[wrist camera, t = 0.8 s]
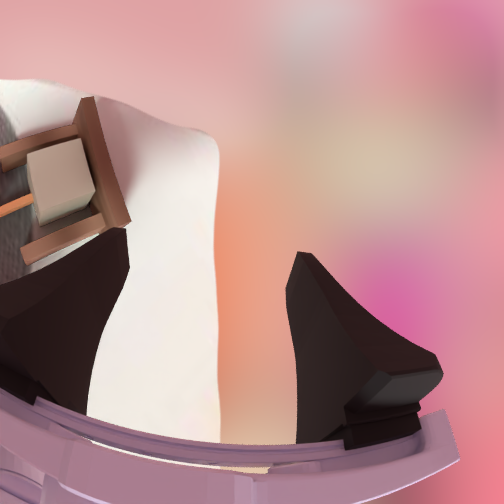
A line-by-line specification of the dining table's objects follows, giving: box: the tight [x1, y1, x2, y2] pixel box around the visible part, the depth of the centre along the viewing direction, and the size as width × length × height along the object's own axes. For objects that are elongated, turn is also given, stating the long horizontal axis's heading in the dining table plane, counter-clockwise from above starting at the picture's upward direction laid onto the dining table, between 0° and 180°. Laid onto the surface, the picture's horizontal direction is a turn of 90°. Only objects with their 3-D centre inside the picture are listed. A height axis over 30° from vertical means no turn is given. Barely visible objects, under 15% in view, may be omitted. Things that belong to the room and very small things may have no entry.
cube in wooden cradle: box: [0, 96, 131, 266], centre depth 17 cm, size 9×12×6 cm
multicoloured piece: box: [0, 138, 95, 227], centre depth 15 cm, size 14×5×6 cm, turn 118°
